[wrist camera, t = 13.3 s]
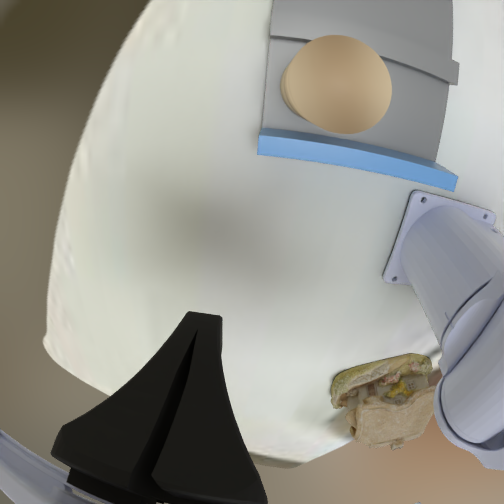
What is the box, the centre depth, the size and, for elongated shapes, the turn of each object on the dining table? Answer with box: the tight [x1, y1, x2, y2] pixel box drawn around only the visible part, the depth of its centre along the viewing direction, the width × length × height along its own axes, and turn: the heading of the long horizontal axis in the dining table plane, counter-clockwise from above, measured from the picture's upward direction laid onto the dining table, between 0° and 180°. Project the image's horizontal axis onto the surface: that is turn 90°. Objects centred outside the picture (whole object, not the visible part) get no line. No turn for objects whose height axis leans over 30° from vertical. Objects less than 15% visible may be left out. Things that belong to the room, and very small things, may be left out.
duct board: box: [257, 0, 459, 192], centre depth 11 cm, size 12×15×4 cm
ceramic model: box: [331, 353, 436, 450], centre depth 26 cm, size 14×11×10 cm
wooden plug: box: [280, 35, 392, 134], centre depth 11 cm, size 4×4×6 cm
